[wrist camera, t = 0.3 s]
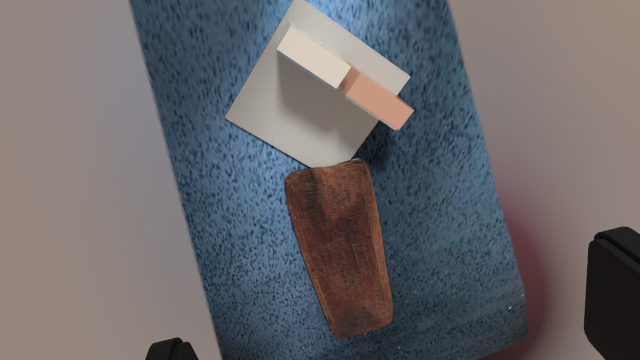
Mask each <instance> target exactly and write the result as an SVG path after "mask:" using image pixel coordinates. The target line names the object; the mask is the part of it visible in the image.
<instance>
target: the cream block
mask: <svg viewBox="0 0 640 360" xmlns="http://www.w3.org/2000/svg"><path fill="white" fill-rule="evenodd" d="M276 45H277V52H278V53H279V54H281V55H282V56H284V57H285V58H287V59H288V60H290V61H291V62H293V63H294V64H296V65H297V66H299V67H300V68H302V69H303V70H305V71H306V72H308V73H309V74H311V75H312V76H314V77H315V78H317V79H318V80H320V81H321V82H323V83H324V84H326V85H327V86H329V87H331V88H332V89H333V88H336V89H337V87H338V86H339V84H340V83H341V81H342V80H343V79H344V77H345V76H346V74H347V73H348V71H349V70H350V68H351V66H350V65H349V64H348V63H347V62H346V61H345V60H344V59H343V58H342V57H341V56H340V55H338V54H337V53H336V52H334V51H333V50H331V49H330V48H328V47H327V46H325V45H324V44H323V43H321V42H320V41H318V40H317V39H315V38H314V37H313V36H311V35H310V34H308V33H307V32H305V31H304V30H302V29H301V28H300V27H298V26H297V25H295V24H294V23H292V22H291V21H290V20H288V21H287V23H286V25H285V26H284V28H283V30H282V31H281V33H280V35H279V36H278V38H277V40H276Z"/></svg>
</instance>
